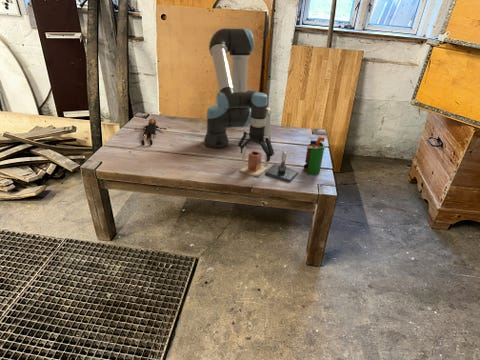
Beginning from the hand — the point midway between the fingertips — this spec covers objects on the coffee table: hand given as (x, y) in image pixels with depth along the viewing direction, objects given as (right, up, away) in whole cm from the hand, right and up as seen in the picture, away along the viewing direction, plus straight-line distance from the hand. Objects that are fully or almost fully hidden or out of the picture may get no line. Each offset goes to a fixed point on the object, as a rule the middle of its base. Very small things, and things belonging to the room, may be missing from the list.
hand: (254, 162), depth 170 cm
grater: (+7, +18, +40) cm, 44 cm away
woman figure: (-65, +20, +36) cm, 77 cm away
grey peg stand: (+14, -6, 0) cm, 16 cm away
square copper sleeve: (0, -3, +2) cm, 3 cm away
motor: (+31, -4, +5) cm, 32 cm away
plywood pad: (0, -4, +2) cm, 4 cm away
